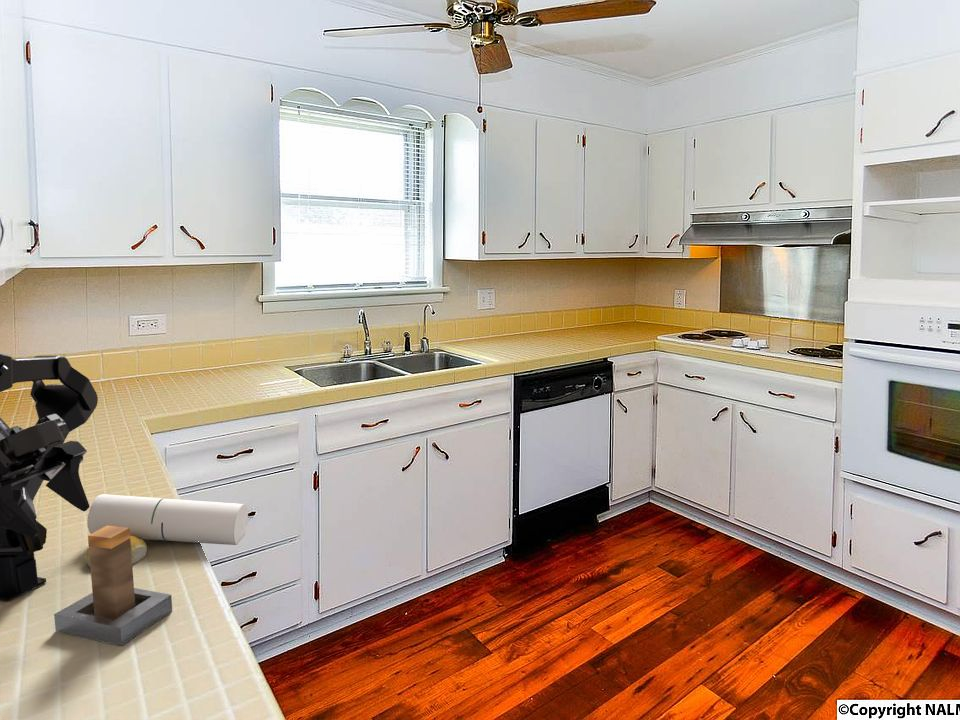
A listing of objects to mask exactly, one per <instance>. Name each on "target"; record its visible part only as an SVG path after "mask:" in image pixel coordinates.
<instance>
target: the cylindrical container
mask: <svg viewBox="0 0 960 720" xmlns="http://www.w3.org/2000/svg"><path fill="white" fill-rule="evenodd" d="M88 510H89V511H88V514H87V522H86V523H87V529H88V533H89V535H90V534H92V533H94V532H96V531H98V530H100V529H102V528H104V527H106V526H118V527H127V528H130V536H134V537H137V538H139V539H141V540H154V541H168V542H169V541H170V542H180V543H182V542H183V543H198V541H199V544H215V545H227V546H228V545H229V546H237V545H238V544H239V543H240V542H241V541H242V539H243V538H244V537H245V536H246V533H247V527H248V521H249V520H248V519H249V511H248V507H247V505H246V504H244V503H232V502H220V501H219V502H218V501H207V500H206V501H205V500H191V499H190V500H189V499H176V498H160V497H146V496H133V495H132V496H131V495H118V494H108V493H107V494H104V493H102V494H99V495H98V496H96V497H95V498H94V499H93V501H92V503H91V505H90V507H89V509H88Z"/></svg>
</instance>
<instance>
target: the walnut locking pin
mask: <svg viewBox="0 0 960 720" xmlns="http://www.w3.org/2000/svg"><path fill="white" fill-rule="evenodd" d="M87 542H88V547H89V556H90V566H89V567H90V578H91V589H92V592H91V593H93V604H94V616H97V617H102V618H107V619H112V620H115V619H117V618H118V617H120V616H121V615H123V614H125V613H126V612H128V611H129V610H131V609H133V608H134V607H135V595H134V588H135V585H134V584H135V583H134V582H135V581H134V571H133V564H132V554H131V540H130V528H127V527H118V526H106V527H104V528H102V529H100V530H98V531H96V532H94V533H92V534H90V533H89V534H88V535H87Z"/></svg>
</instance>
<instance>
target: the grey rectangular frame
mask: <svg viewBox="0 0 960 720" xmlns="http://www.w3.org/2000/svg"><path fill="white" fill-rule="evenodd" d="M134 595H135V607H134V608H133V609H131V610H129V611H128V612H126V613H125V614H123V615H121V616H120V617H118V618H117V619H115V620H112V619H107V618H102V617H97V616H94V604H93V592H91V593H89V594H88V595H86V596H84V597H82V598H80V599H79V600H77V601H75V602H73V603H72V604H70V605H68V606H66V607H64V608H62V609H61V610H59V611H57V612H55V613H54V614H53V617H54V627H55V632H56V633H59V634H65V635H70V636H73V637H74V636H75V637H79V638H84V639H88V640H93V641H98V642H102V643H108V644H112V645H117V646H120V647H121V646H124V645H125V644H126V643H128V642H130V641H131V640H132V639H134V638H135V637H137V636H138V635H139V634H141V633H143V632H144V631H145V630H147V629H148V628H149V629H150V627H151V626H153V625H154V624H156V623H157V622H159V621H160V620H161V619H164V618H165V617H166V616H168V615H169V614H170V613H172V612H173V601H172V599H173V598H172V594H170V593H165V592H159V591H153V590H148V589H142V588H137V587H134Z"/></svg>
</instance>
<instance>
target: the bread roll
mask: <svg viewBox="0 0 960 720" xmlns="http://www.w3.org/2000/svg"><path fill="white" fill-rule="evenodd" d="M130 540H131V554H132V565H133V564H135V563H137V562H140V561H141V560H142V559H144V557H145V556H146V555H147V552H148V551H147V543H146V542H145V541H144V539H139V538H137V537H134V536H130ZM85 561H86V564H87V566H88V567H90V556H89V546H88V547H87V550H86V553H85Z"/></svg>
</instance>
